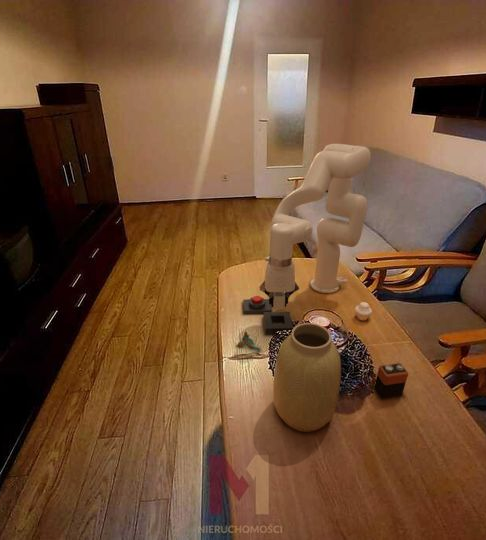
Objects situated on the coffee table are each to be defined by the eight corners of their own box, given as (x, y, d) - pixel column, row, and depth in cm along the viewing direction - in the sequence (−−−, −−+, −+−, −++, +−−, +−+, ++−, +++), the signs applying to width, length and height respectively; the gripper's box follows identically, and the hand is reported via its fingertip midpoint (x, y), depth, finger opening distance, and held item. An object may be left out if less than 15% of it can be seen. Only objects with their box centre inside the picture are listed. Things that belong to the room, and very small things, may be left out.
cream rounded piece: (355, 322, 131) (358, 307, 128) (351, 313, 137) (354, 298, 133) (372, 322, 131) (375, 307, 128) (367, 313, 136) (370, 298, 133)
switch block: (269, 302, 144) (270, 295, 142) (271, 313, 137) (271, 306, 135) (243, 302, 144) (243, 295, 142) (243, 314, 137) (243, 306, 135)
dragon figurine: (267, 339, 122) (248, 327, 123) (263, 346, 115) (243, 332, 116) (258, 354, 123) (239, 341, 125) (253, 361, 116) (234, 348, 118)
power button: (261, 299, 141) (261, 295, 140) (261, 304, 138) (262, 300, 137) (252, 299, 141) (252, 295, 140) (252, 304, 138) (252, 300, 137)
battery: (373, 387, 104) (379, 362, 99) (394, 384, 105) (401, 359, 100) (380, 399, 100) (387, 374, 95) (402, 396, 101) (410, 370, 96)
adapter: (289, 317, 135) (289, 311, 133) (292, 334, 126) (293, 327, 124) (263, 318, 135) (263, 312, 133) (265, 335, 126) (265, 328, 124)
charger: (283, 302, 127) (283, 289, 125) (284, 309, 124) (285, 295, 121) (272, 302, 127) (272, 289, 125) (273, 309, 124) (273, 295, 121)
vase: (303, 451, 86) (312, 371, 73) (259, 405, 99) (261, 330, 86) (348, 416, 95) (363, 339, 82) (303, 378, 107) (310, 306, 94)
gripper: (256, 265, 113) (255, 311, 122) (307, 264, 113) (303, 310, 122) (255, 255, 120) (254, 299, 129) (303, 254, 120) (299, 299, 129)
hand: (278, 304), depth 125 cm, fingers closed on charger, 4 cm apart
